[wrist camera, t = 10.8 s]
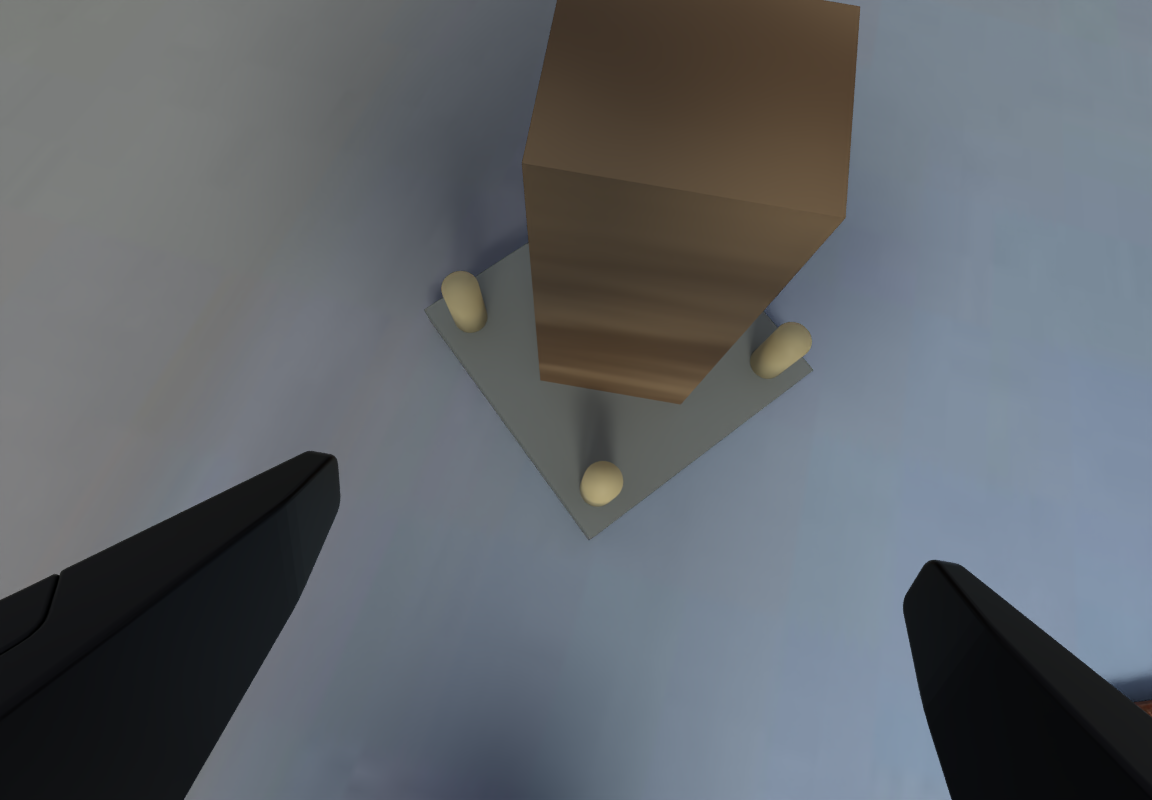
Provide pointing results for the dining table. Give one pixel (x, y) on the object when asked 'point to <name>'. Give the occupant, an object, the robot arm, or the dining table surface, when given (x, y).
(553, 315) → the walnut shelf block
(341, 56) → the dining table surface
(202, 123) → the dining table surface
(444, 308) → the peg plate
